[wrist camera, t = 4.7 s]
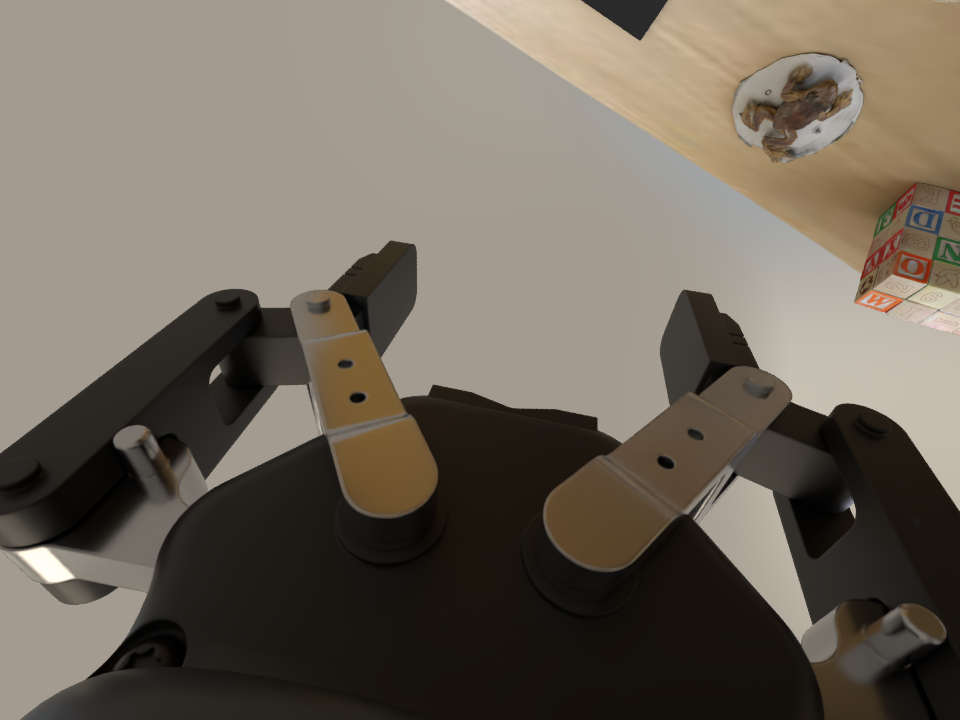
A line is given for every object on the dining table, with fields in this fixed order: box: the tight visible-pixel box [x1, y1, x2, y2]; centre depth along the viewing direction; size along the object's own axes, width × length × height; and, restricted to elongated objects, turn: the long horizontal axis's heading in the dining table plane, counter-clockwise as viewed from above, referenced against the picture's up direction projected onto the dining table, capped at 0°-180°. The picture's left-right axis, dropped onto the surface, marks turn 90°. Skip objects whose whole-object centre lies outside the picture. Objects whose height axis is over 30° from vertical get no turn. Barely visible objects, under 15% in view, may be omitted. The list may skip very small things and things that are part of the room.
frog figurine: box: [732, 53, 863, 163], centre depth 46 cm, size 12×12×4 cm
